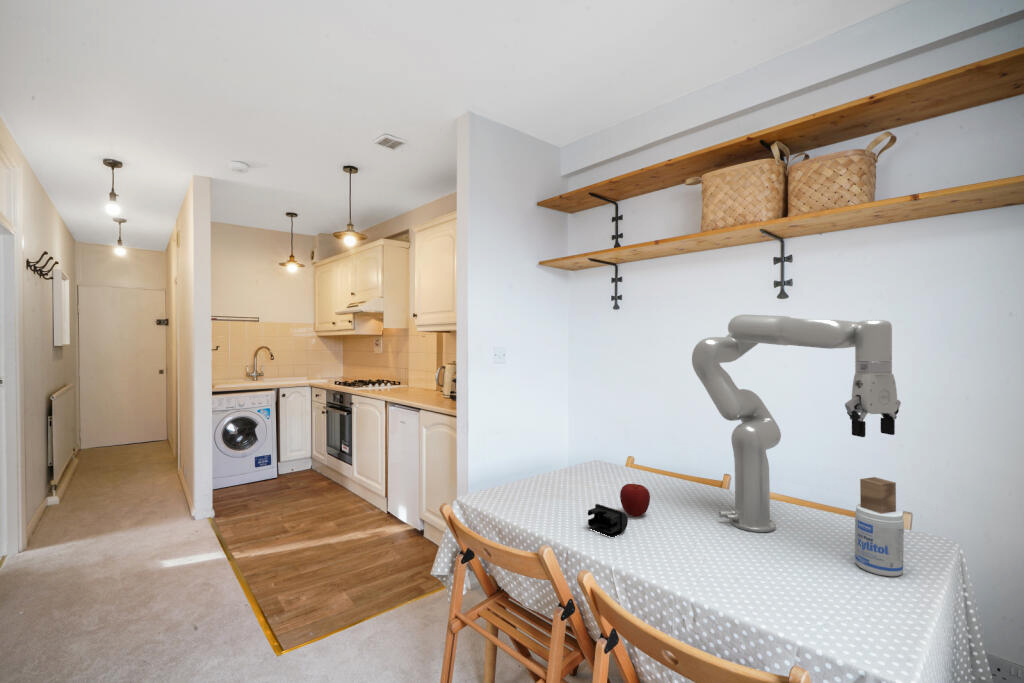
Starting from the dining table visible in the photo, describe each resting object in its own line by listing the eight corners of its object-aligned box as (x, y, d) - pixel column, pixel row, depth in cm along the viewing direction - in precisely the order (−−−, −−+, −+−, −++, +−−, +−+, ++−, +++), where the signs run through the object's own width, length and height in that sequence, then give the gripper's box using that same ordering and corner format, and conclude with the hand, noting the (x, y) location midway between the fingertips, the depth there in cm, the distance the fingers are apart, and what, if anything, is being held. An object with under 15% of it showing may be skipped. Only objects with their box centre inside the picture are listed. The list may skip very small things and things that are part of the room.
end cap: (628, 532, 142) (628, 510, 142) (613, 539, 138) (613, 515, 138) (601, 523, 150) (601, 501, 150) (586, 529, 145) (586, 506, 145)
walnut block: (881, 513, 115) (880, 484, 115) (860, 506, 120) (860, 478, 120) (896, 511, 117) (895, 482, 117) (875, 504, 122) (874, 477, 122)
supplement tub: (853, 569, 118) (852, 510, 118) (856, 556, 125) (856, 500, 125) (904, 582, 112) (903, 519, 112) (904, 567, 119) (903, 508, 119)
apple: (639, 523, 150) (638, 490, 150) (614, 514, 157) (613, 484, 157) (656, 515, 156) (655, 484, 156) (631, 508, 163) (630, 478, 163)
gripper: (861, 370, 117) (861, 440, 117) (914, 368, 122) (913, 436, 122) (833, 368, 124) (833, 434, 124) (883, 366, 129) (883, 430, 129)
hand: (873, 435), depth 123 cm, fingers open, 9 cm apart
